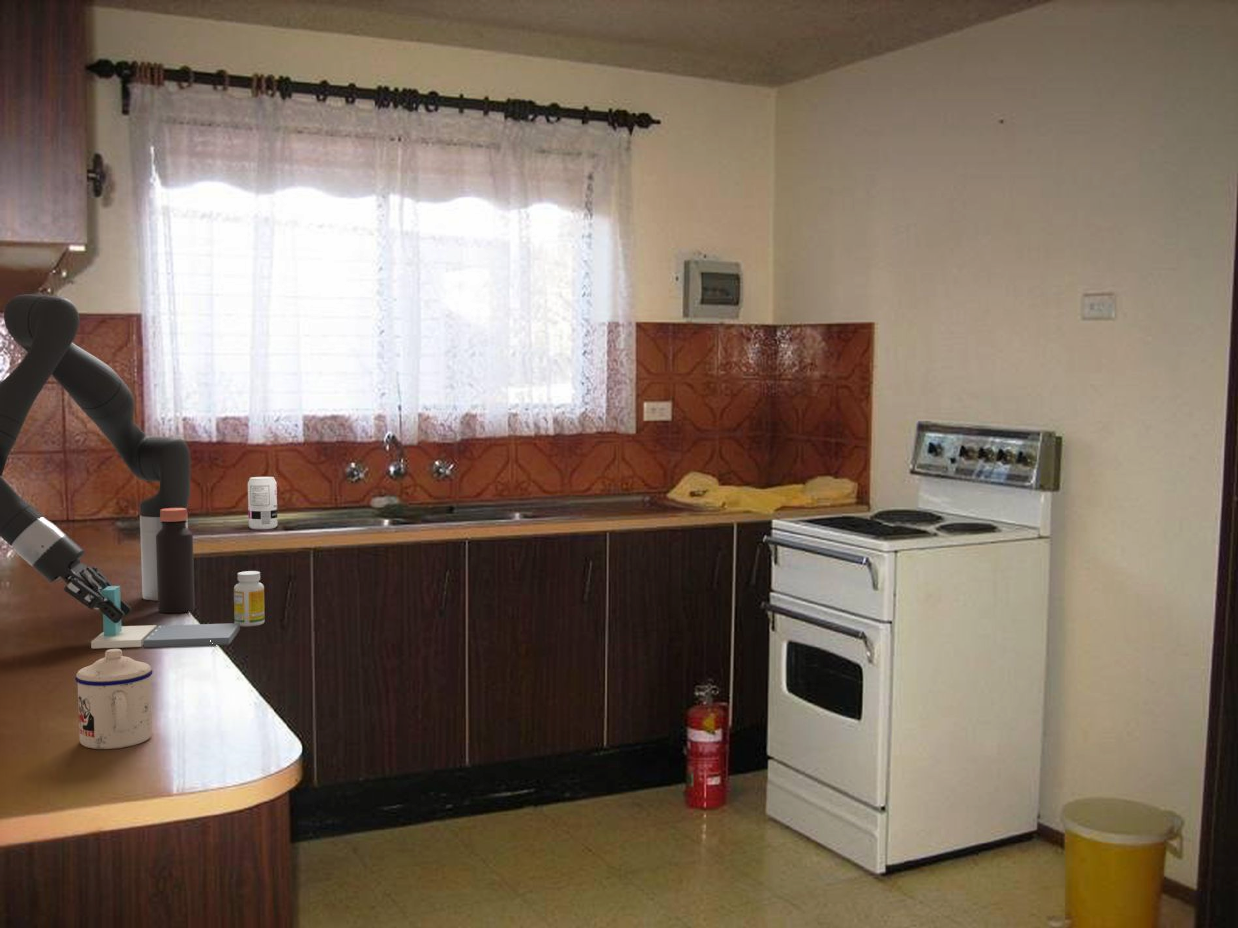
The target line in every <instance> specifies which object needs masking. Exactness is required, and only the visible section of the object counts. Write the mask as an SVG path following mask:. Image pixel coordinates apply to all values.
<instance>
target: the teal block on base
mask: <svg viewBox="0 0 1238 928" xmlns="http://www.w3.org/2000/svg"><path fill="white" fill-rule="evenodd" d="M102 593H103V594H104V595H105V596H107V598H108V599H109V600H110V601H111V602H112V603H114V604H115V605H116V606H117V607H118V608H119V609H121V599H122V598H121V597H122V596H121V585H113V586H108V587H106V588H105V589H103V590H102ZM109 600H108V601H109ZM108 601H107V602H108ZM102 625H103V626H102V629H103V632H101V633H100V634H99V635H98V636H96V637H95V638H94V639H92V640H91V642H90V644H91V649H120V648H141V647H143V646H144V640H145V639H146V638H147V637H148V636H149V635H150V634H151V633H152V632H153V631H154V630H155V629H156V628H157V627H158V626H157V625H156V624H153V625H152V624H151V625H148V624H147V625H122V619H121V620H120V621H119V622H118V623H114V622H113V621H111V620H110V619H109V618H108V617H107V616H106V615H105V614H104V613H102Z"/></svg>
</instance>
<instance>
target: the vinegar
mask: <svg viewBox="0 0 1238 928" xmlns="http://www.w3.org/2000/svg"><path fill="white" fill-rule="evenodd" d="M187 516H188V508H187V509H186V508H166V509H161V510H160V520H161V521H162V522H161V523H162V529H161V530H160V531H159V532H158V534H157V535H156V557H157V588H158V600H157V609H158V612H159V613H161V614H167V615H168V614H170V615H171V614H172V615H173V614H183V613H189V612H192V611H194V610H195V608H196V606H195V605H196V603H195V573H194V572H195V571H194V570H195V569H194V568H195V567H194V565H195V564H194V540H193V539H194V537H193V535H194V534H193V533H192V532H191V530H190V529H189V528H188V529H187V528H186V522H187V521H186V520H187Z"/></svg>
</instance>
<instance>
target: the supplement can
mask: <svg viewBox="0 0 1238 928" xmlns="http://www.w3.org/2000/svg"><path fill="white" fill-rule="evenodd" d="M277 487H278V483H277V481H276V479H275V477H274V476H253V477H252V476H251V477H249V479H248V481H247V506H248V508H247V509H248V511H247V512H248V514H247V515H248V527H249V528H250V529H251V530H260V531H261V530H272V529H275V528H276V527H277V526H278V524H279V523H278V495H277V494H278V488H277Z"/></svg>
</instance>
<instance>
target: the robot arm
mask: <svg viewBox="0 0 1238 928" xmlns="http://www.w3.org/2000/svg"><path fill="white" fill-rule="evenodd" d="M3 321H4V324H5V328H6V330H7V332H8V334H9V335H10V336H11V338H12V339H13V340H14V341H15V342H16V343H17V344H18V345H19V346H20V347H21V348H23V349H24V350H25V352H26V355H25V356H24V358H23V359H22V360H21V362H20V363H19V364H18V365H17V366H16V368H15V369H14V370H12V371H11V372H10V374H9V375H8V376H6V378H4V379H3V380H2V381H1V382H0V538H1V539H3V540H4V541H5V542H6V543H7V544H8V545H9V546H11V548H12V549H14V550H15V552H16V553H17V554H18V555H19V556H20V557H21V559H23V560H24V561H25V562H26V563H27V564H29V565H30V566H31V567H32V568H33V569H34V570H35V571H36V572H37V573H39V574H40V575H42V577H44V578H45V579H46V580H47V581H48V582H49V583H55V582H58V580H60V579H62V581H64V583H65V584H66V586H65V587H64V588H63V590H64V592H66V593H67V594H69V595H70V596H71V597H73V598H74V599H76V600H77V601H79V602H80V603H81V604H82V605H84V606H86V607H87V608H88V609H89V610H97V611H100V612H101V614H103V613H104V614H105V615H106V616H107V617H108V618H109V619H110V620H111V621H113V622H114V623H118V622H119V621H120V620H121V621H122V619H124V618H125V617H126V616H127V615H129V613H130V612H132V607H130V605H128V604H127V603H126V602H125V601H124V600H123V599H122V598H121V609H119V608H118V607H117V606H116V605H115V604H114V603H112V602H111V601H110V600H109V599H108V598H107V596H105V595H104V594H103V593H102V590H103V589H105V588H106V587H108V586H114V584H113V583H112V582H111V581H110V580H109V579H108V578H107V577H106V575H105V574H103V572H102V571H101V570H100V569H99V567H96V566H93V567H91V566H90V565H89V566H87V565H85V564H84V563H83V562H81V558H83V556H84V555H85V551H84V549H83V548H82V547H81V546H79V545H78V544H77V543H76V542H75V541H74V540H73V539H72V538H70V537H69V536H68V535H67V533H65V532H64V531H62V530H61V529H60V528H59V527H58V526H57V525H55V524H54V523H53V522H52V521H50V520H48V519H47V518H45V517H44V516H43V515H42V514H41V513H40V512H39V511H38V510H36V508H34V507H33V506H32V505H31V504H30V503H29V502H27V501H26V500H24V499H23V498H22V497H21V496H20V495H19V494H17V493H16V491H15V490H14V489H13V488H12V487H11V485H9V483H8V482H7V481H6V480H5V479H4V478H3V477H2V476H3V472H4V469H5V466H6V464H7V461H8V457H9V455H10V453H11V451H12V449H13V448H14V447H15V443H16V442H17V439H18V437H19V434H20V432H21V430H22V427H23V426H24V423H25V421H26V418H27V417H28V414H29V413H30V410H31V408H32V406H33V404H34V403H35V401H36V399H37V398H38V396H39V394H40V393H41V391H42V390H43V388H44V386H45V385H46V384H47V382H48V381H49V379H50V377H51V376H52V377H53V379H55V380H56V381H57V383H58V384H59V385H60V386H61V387H62V388H63V390H65V391H66V392H67V394H68V395H69V396H70V397H71V399H72V400H73V401H74V402H75V404H77V405H78V406H79V408H80V409H81V410H82V411H83V413H84V414H85V415H86V416H87V417H88V419H90V420H91V421H92V422H93V423H94V424H95V425H96V426H97V428H99V430H100V431H101V432H102V434H103V435H104V436H105V438H107V440H109V442H110V443H111V444H112V446H113V447H114V448H115V451H116V452H117V454H119V456H120V458H121V459H122V461H123V462H124V464H125V465H126V466H127V468H128V469H129V471H130V472H131V474H133V475H134V476H135V477H136V478H138V479H140V480H141V481H144V482H145V481H146V482H159V487H158V492H157V493H156V494H154V495H153V496H151V497H149V498H146V499H144V500H142V501H140V503H139V529H140V532H139V533H140V556H141V557H140V561H141V564H140V565H141V591H142V599H143V600H145V601H146V600H147V601H158V588H157V557H156V535H157V534H158V532H159V531H160V530H161V529H162V523H161V522H162V521H161V520H160V510H161V509H166V508H186V509H187V510H188V505H189V502H190V497H191V468H192V467H191V466H192V465H191V464H192V461H191V452H190V449H189V446H188V444H187V442H186V441H185V440H184V439H183V438H181V437H176V436H175V437H174V436H150V435H148V434H146V433H145V432H144V431H143V430H142V429H141V428H140V427H139V426H138V424H137V423H136V422H135V420H134V419H135V418H134V417H135V398H134V395H133V393H132V391H131V389H130V388H129V387H128V385H127V384H126V383H125V381H124V380H123V379H122V378H121V377H120V375H119V374H118V373H117V372H116V371H115V370H114V369H112V367H111V366H109V365H108V363H107V364H106V363H105V362H104V361H102V360H100V359H99V358H97V357H96V356H95V355H93V354H91V353H89V352H88V351H86V350H85V349H83V348H81V347H80V346H78V345H76V344H75V343H74V340H75V338H76V336H77V334H78V332H79V327H80V315H79V310H78V308H77V307H76V305H75V304H74V303H73V302H72V301H71V300H70V299H68V298H65V297H61V296H56V295H55V296H54V295H47V294H46V295H43V294H33V293H31V294H30V293H28V294H25V293H24V294H20V295H16V296H13V297H12V298H11V299H10V300H9V301H8V302H6V305H5V307H4V310H3ZM186 521H187V522H186V528H187V529H188V530H189V523H188V522H189V520H188V515H187V520H186ZM108 600H109V601H108ZM107 601H108V602H107Z"/></svg>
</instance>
